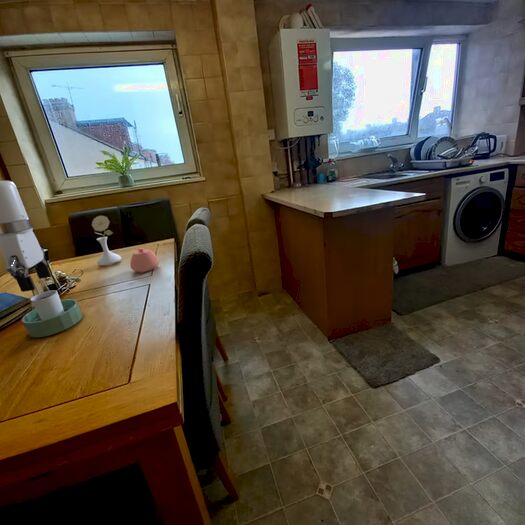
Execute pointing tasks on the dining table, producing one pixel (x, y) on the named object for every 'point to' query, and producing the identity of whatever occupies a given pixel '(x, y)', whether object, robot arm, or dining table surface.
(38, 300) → the white cup
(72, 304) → the teal pet bowl
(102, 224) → the flower in vase
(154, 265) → the sugar bowl
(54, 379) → the dining table surface
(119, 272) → the dining table surface
